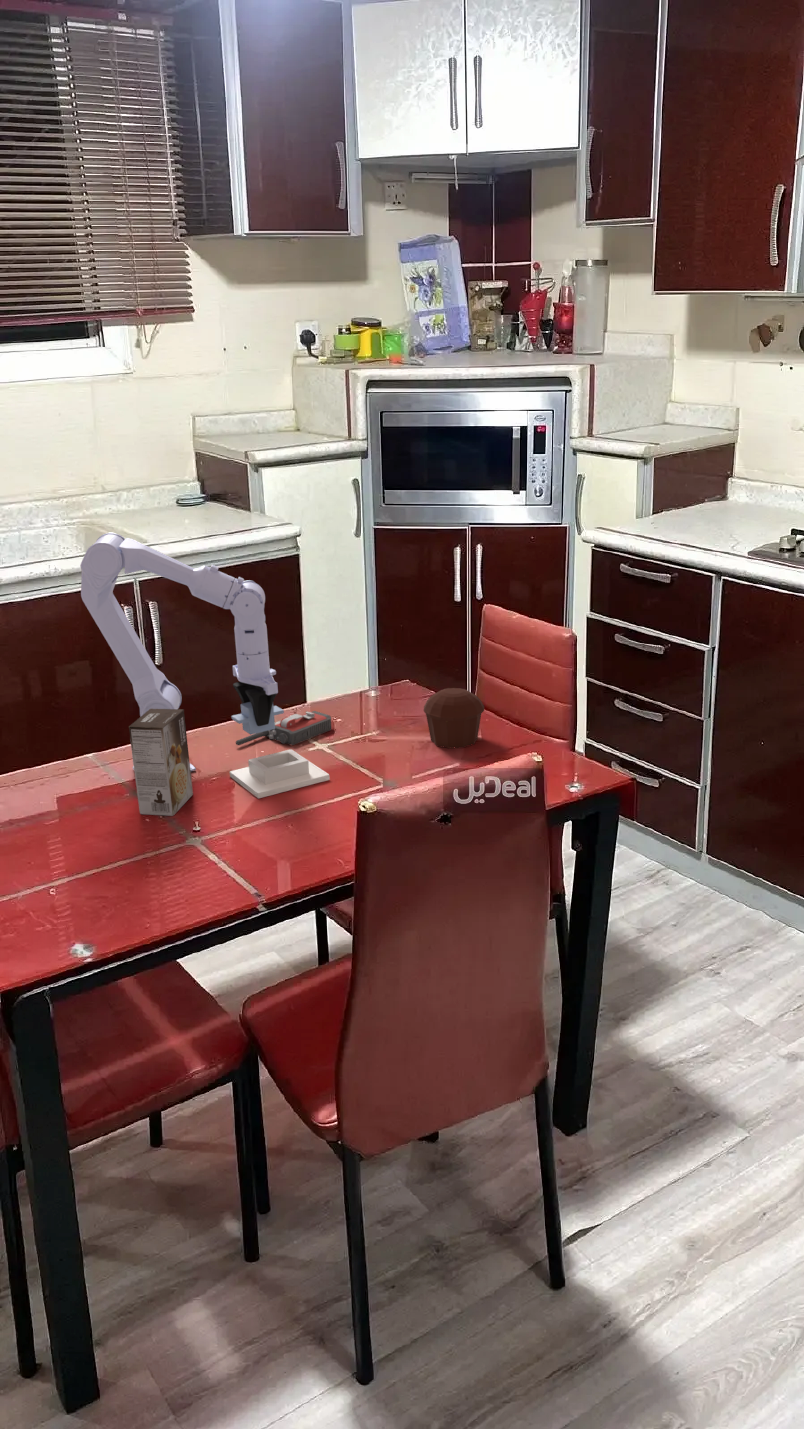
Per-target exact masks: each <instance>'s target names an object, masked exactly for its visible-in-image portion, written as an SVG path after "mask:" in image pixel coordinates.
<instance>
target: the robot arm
mask: <svg viewBox="0 0 804 1429" xmlns="http://www.w3.org/2000/svg"><path fill="white" fill-rule="evenodd" d="M123 568H124V574H126V575H128V574H131V573H135V572H139V571H140V572H141V571H147V572H148V573H152V574H155V575H157V576H159V577H162V578H165V579H168V580H170V581H174V582H176V583H178V584H182V585H185V586H187V587H188V589H189V592H190V593H191V595H192V596H193V597H195V598H198V599H200V600H203V601H205V602H208V603H210V604H212V605H215V606H217V607H220V608H222V609H223V610H230V612H231V614H232V616H233V617H234V628H233V630H234V631H233V632H234V642H235V651H236V652H235V654H236V664H235V665H232V675H233V677H235V678H237V680H238V681H236V682H234V683H233V684H232V686H233V687H232V688H234V689H235V691H236V693H237V695H238V696H239V698H240V701H241V704H243V703H247V702H251V704H252V708H253V712H254V717H255V721H256V724H257V726H263V725H267V724H269V719H270V713H271V708H272V704H273V705H274V701H275V698H276V696H277V695H278V693H279V688H278V682H276V681H275V679H274V677H273V676H275V675H277V671H276V669H273V668H270V656H269V655H270V654H269V641H268V640H269V639H268V628H267V624H266V614H265V603H266V594H265V591H264V589H263V588H262V587H261V585H260V584H258V583H256V582H255V581H254V580H250V579H249V580H245V579H244V578H243V577H241V576H238V578H237V577H236V578H235V577H234V576H232V575H228V574H227V573H225V572H222V571H220V570H219V566H217V565H214V564H211V566H207V565H202V566H199V567H192V566H190V565H188V564H186V563H184V562H182V561H180V560H177V559H176V558H173V557H171V556H169V555H167V554H165V553H163V552H160V551H158V550H157V549H155V548H152V547H150V546H148V545H146V544H143V543H142V542H139V541H138V540H135V539H134V538H131V537H126V538H125V537H124V536H123V535H121V534H118V533H115V532H107V533H104V534H102V535H100V536H99V537H98V538H97V539H96V541H95V542H94V543H93V544H92V545H90V546H89V547H88V548H87V550H86V551H85V554H84V556H83V558H82V560H81V562H80V570H81V578H80V580H81V582H80V597H81V600H82V602H83V604H84V605H85V607H86V608H87V610H88V612H89V614H90V616H91V617H92V619H93V620H94V622H95V624H96V625H97V627H98V628H99V630H100V632H101V634H102V636H103V637H104V639H105V640H106V642H107V644H108V646H109V647H110V649H111V651H112V652H113V654H114V656H115V658H116V659H117V661H118V662H119V664H120V666H121V668H122V669H123V671H124V673H125V674H126V676H127V677H128V679H129V681H130V683H131V684H132V689H133V694H134V695H133V696H134V699H135V701H136V702H137V705H138V707H139V716H140V717H141V716H142V715H143V714H145V713H146V712H147V711H148V710H149V709H180V706H181V705H182V693H181V690H179V688H178V687H177V686H176V685H175V684H174V683H172V682H171V681H169V680H168V678H167V677H166V676H165V674H164V672H162V671H161V670H159V669H158V668H157V666H156V665H155V663H154V662H153V660H152V658H151V657H150V654H149V653H148V651H147V649H146V648H145V646H144V645H143V643H142V641H141V639H140V638H139V636H138V634H137V632H136V631H135V629H134V628H133V626H132V624H131V622H130V620H129V619H128V617H127V616H126V614H125V611H124V610H123V608H122V607H121V605H120V604H119V602H118V600H117V598H116V596H115V594H114V592H113V591H114V589H115V586H116V583H117V579H118V577H119V576H118V575H119V574H120V572H121V570H122V569H123ZM140 717H139V718H140ZM129 740H130V739H129ZM130 742H131V740H130ZM130 748H131V747H130ZM131 750H132V748H131ZM131 756H132V755H131ZM131 758H132V759H133V756H132V757H131ZM132 764H133V763H132ZM196 769H197V768H196V767H195V766H194V765H193V764H192V763H190V771H191V772H194V771H196ZM132 770H133V771H134V764H133V766H132Z"/></svg>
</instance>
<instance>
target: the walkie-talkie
mask: <svg viewBox="0 0 804 1429" xmlns="http://www.w3.org/2000/svg"><path fill="white" fill-rule="evenodd" d="M332 728H333V727H332V717H331V715H330V714H327V713H323V712H320V711H316V710H313V711H311V712H310V711H306V712H305V713H304V714H298V713H294V714H292V715H289V716H286V717H284V718H282V719H281V720H278V721H276V722H275V729H272V730H267V731H263V732H259V733H255V734H251V735H250V734H249V735H248V736H245V737H243V738H240V739H238V740H236V741H235V745H237V746H241V745H244V744H246V743H249V742H251V741H255V740H258V739H259V738H262V737H268V738H269V740H274V741H277V742H280V743H281V744H283V745H285V744H286V745H290V746H294V745H296V744H299V743H303V742H305V741H307V740H310V739H312V738H315V737H317V736H320V735H322V734H324V733H326V732H329V731H332Z"/></svg>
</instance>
